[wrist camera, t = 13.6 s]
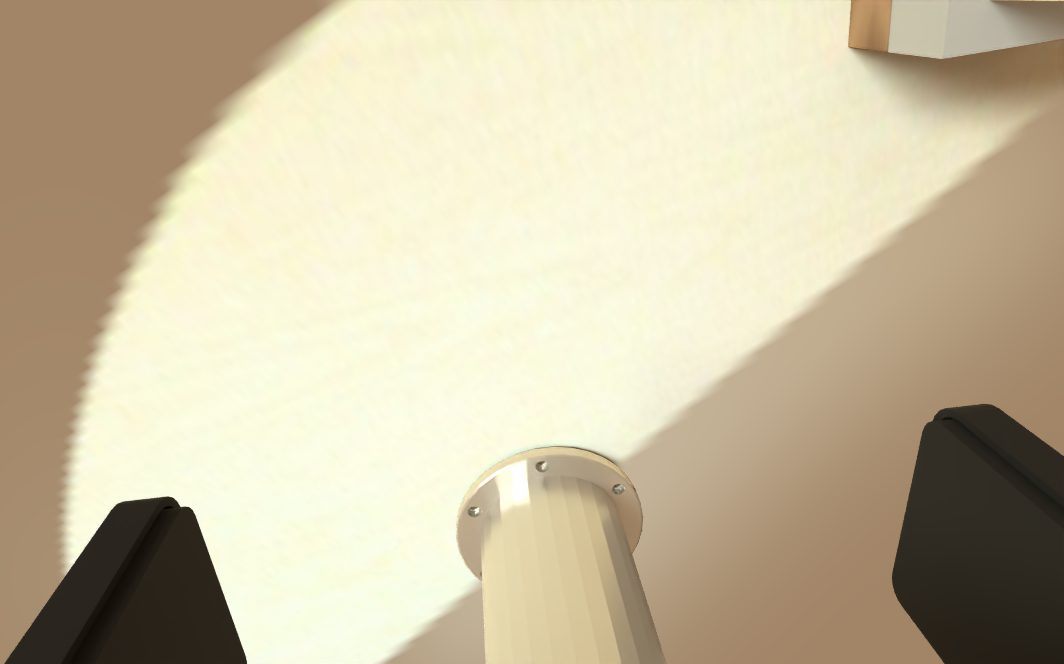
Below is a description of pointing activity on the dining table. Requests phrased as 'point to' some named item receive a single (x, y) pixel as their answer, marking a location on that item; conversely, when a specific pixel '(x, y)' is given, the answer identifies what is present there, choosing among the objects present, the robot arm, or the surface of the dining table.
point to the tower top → (971, 26)
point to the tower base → (870, 24)
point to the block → (1030, 0)
